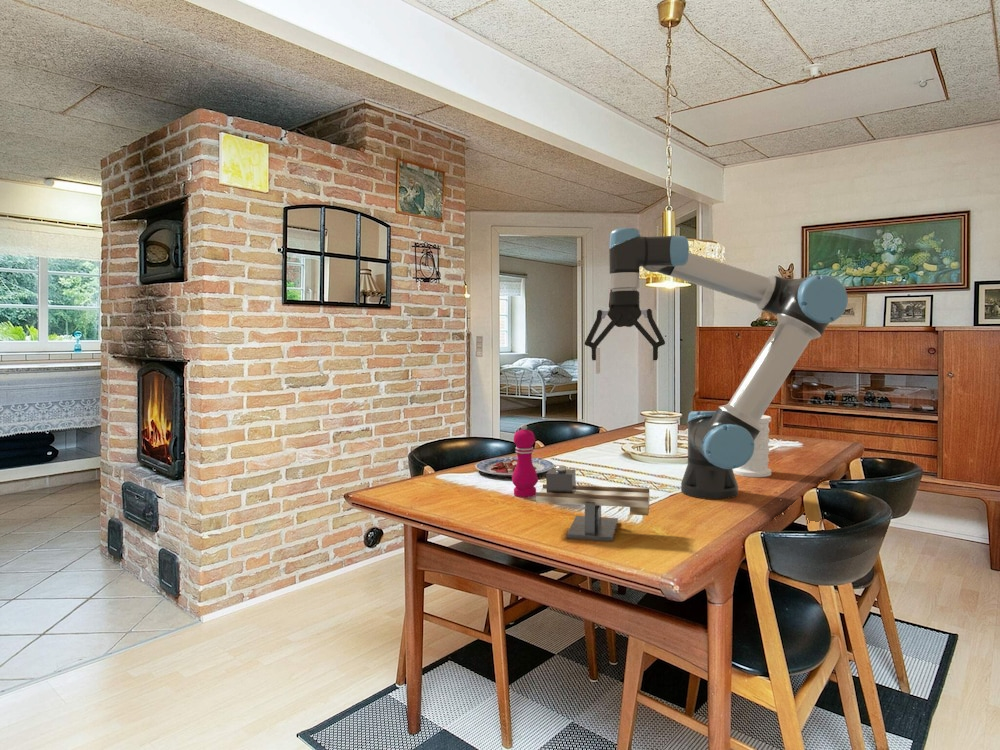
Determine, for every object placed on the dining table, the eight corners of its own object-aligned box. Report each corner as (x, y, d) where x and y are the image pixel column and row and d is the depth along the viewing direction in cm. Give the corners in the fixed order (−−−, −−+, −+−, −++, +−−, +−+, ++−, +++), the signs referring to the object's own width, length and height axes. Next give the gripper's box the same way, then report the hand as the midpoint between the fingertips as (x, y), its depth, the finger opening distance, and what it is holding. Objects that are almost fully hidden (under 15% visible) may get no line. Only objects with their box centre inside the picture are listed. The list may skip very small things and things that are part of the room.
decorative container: (764, 479, 192) (765, 420, 190) (726, 473, 199) (726, 417, 198) (776, 472, 201) (777, 415, 199) (739, 467, 208) (740, 412, 207)
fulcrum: (617, 522, 152) (617, 489, 151) (612, 541, 139) (612, 505, 138) (576, 519, 155) (576, 487, 154) (566, 538, 141) (566, 503, 141)
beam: (649, 506, 147) (649, 488, 146) (648, 516, 139) (647, 497, 139) (543, 501, 153) (543, 484, 153) (536, 511, 146) (536, 492, 145)
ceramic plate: (460, 470, 212) (460, 461, 211) (523, 459, 226) (523, 451, 226) (504, 485, 190) (504, 475, 190) (570, 473, 205) (570, 463, 204)
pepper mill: (535, 498, 174) (535, 426, 173) (510, 497, 176) (508, 426, 174) (539, 491, 181) (538, 422, 180) (514, 490, 183) (513, 422, 181)
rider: (575, 490, 150) (575, 464, 149) (572, 496, 145) (572, 469, 144) (550, 489, 151) (550, 463, 151) (546, 494, 146) (546, 468, 146)
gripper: (675, 289, 162) (674, 372, 164) (577, 292, 169) (578, 372, 171) (675, 288, 155) (674, 374, 157) (573, 291, 162) (574, 374, 163)
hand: (624, 373), depth 164 cm, fingers open, 13 cm apart
